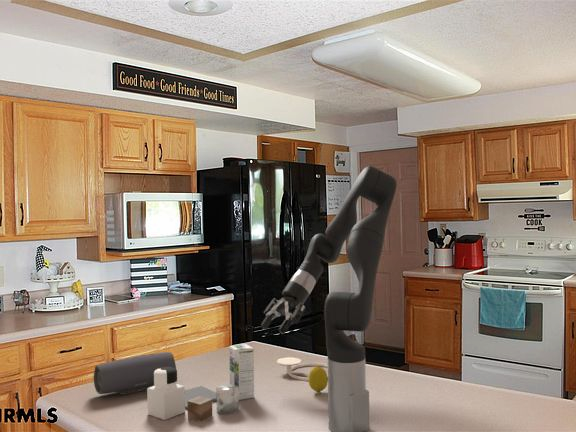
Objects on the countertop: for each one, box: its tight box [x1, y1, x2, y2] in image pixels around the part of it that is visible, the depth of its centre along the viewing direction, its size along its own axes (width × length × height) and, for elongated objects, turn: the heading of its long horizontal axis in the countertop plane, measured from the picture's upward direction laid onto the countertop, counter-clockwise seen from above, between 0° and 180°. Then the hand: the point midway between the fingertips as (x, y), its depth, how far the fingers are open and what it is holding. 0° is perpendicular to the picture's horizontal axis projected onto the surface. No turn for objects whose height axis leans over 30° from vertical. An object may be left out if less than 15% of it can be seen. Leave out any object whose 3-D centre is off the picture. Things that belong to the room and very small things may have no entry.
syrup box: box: [229, 343, 255, 401], centre depth 158 cm, size 6×6×14 cm
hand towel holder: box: [276, 356, 328, 382], centre depth 179 cm, size 17×4×21 cm
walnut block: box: [187, 396, 213, 423], centre depth 143 cm, size 4×4×4 cm
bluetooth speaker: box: [93, 351, 177, 395], centre depth 166 cm, size 23×9×10 cm, turn 126°
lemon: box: [308, 366, 328, 394], centre depth 160 cm, size 6×6×8 cm
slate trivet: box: [185, 385, 216, 410], centre depth 157 cm, size 12×12×1 cm
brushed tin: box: [215, 383, 240, 415], centre depth 148 cm, size 6×6×6 cm
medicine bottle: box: [146, 367, 186, 421], centre depth 146 cm, size 7×7×12 cm
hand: (271, 330), depth 165 cm, fingers open, 8 cm apart
